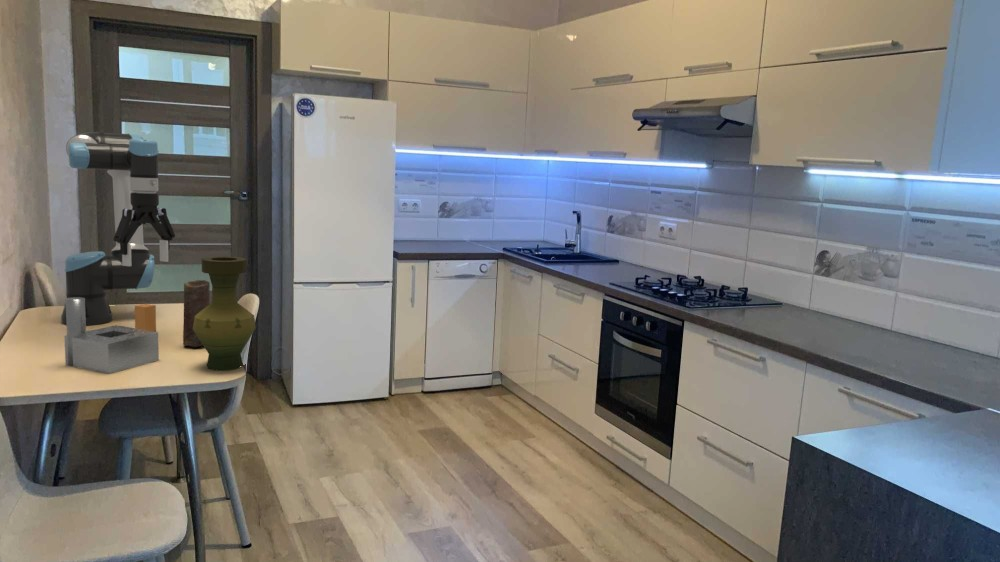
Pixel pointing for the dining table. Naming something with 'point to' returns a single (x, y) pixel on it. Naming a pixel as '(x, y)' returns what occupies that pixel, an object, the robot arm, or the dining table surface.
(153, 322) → the orange rectangular block
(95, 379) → the dining table surface
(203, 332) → the vase
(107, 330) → the grey block with cylinder
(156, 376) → the dining table surface
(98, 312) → the robot arm
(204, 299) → the candle
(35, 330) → the dining table surface
